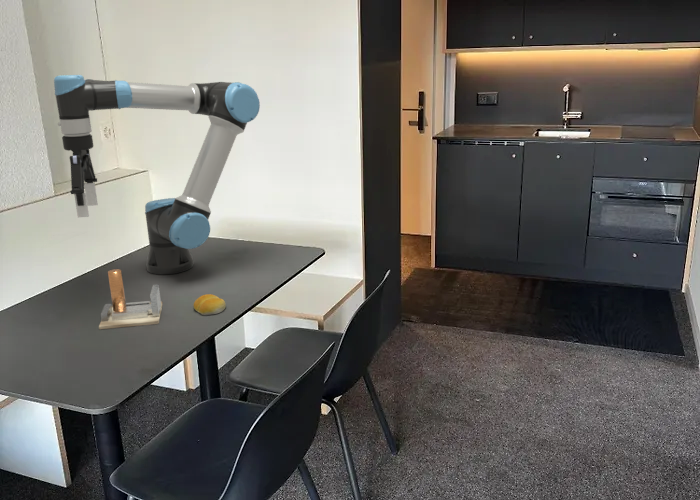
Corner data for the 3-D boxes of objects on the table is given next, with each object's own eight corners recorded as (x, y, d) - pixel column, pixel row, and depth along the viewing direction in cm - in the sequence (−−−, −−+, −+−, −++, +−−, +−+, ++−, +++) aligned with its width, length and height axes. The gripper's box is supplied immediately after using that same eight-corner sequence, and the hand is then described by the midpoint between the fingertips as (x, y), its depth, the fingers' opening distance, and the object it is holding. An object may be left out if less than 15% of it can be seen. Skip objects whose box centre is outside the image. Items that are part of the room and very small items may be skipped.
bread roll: (205, 318, 173) (204, 305, 172) (189, 309, 180) (188, 296, 179) (232, 310, 178) (231, 296, 177) (215, 301, 185) (214, 288, 184)
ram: (116, 308, 178) (110, 267, 174) (161, 304, 180) (156, 263, 176) (111, 320, 170) (105, 276, 167) (158, 315, 173) (153, 272, 169)
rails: (106, 310, 177) (105, 304, 177) (150, 306, 179) (149, 300, 179) (101, 321, 170) (100, 314, 170) (147, 317, 172) (146, 310, 172)
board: (107, 309, 180) (107, 306, 180) (162, 304, 183) (162, 301, 183) (99, 329, 167) (98, 326, 167) (158, 323, 170) (158, 321, 170)
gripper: (71, 129, 184) (82, 201, 190) (50, 141, 161) (64, 223, 167) (99, 128, 185) (109, 200, 192) (82, 139, 162) (94, 221, 168)
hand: (88, 210), depth 179 cm, fingers open, 13 cm apart
